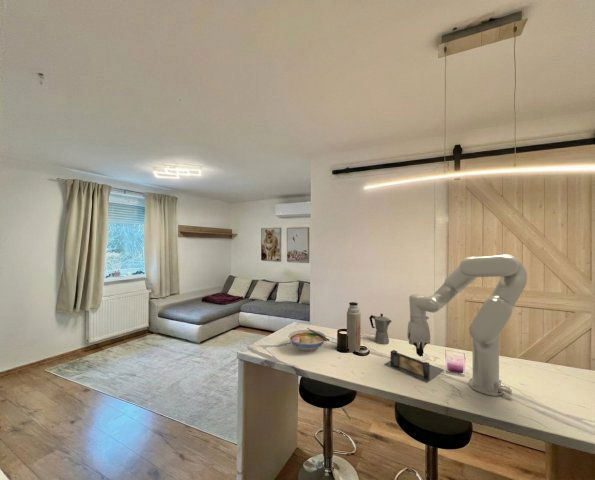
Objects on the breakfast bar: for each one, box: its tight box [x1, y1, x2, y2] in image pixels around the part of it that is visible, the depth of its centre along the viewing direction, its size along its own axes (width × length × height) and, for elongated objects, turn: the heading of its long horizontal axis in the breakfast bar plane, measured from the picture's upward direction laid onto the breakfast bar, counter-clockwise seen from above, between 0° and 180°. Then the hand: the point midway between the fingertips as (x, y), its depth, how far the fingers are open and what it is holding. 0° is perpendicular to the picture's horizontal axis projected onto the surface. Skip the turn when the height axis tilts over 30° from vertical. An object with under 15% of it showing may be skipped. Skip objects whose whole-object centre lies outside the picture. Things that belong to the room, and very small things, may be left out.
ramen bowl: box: [288, 327, 330, 352], centre depth 157 cm, size 25×23×8 cm
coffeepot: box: [369, 313, 392, 345], centre depth 168 cm, size 15×9×18 cm, turn 44°
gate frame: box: [383, 349, 445, 383], centre depth 133 cm, size 22×18×7 cm
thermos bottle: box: [346, 301, 362, 353], centre depth 154 cm, size 8×8×28 cm
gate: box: [396, 351, 424, 375], centre depth 129 cm, size 14×2×6 cm, turn 39°
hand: (420, 355), depth 133 cm, fingers closed
